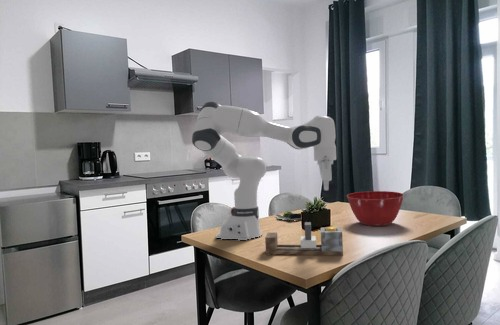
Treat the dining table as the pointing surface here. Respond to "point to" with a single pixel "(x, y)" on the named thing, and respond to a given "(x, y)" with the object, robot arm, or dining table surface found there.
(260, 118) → the robot arm
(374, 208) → the mixing bowl
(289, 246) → the rail base
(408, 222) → the dining table surface
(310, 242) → the carriage
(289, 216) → the salad plate
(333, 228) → the gauge button
